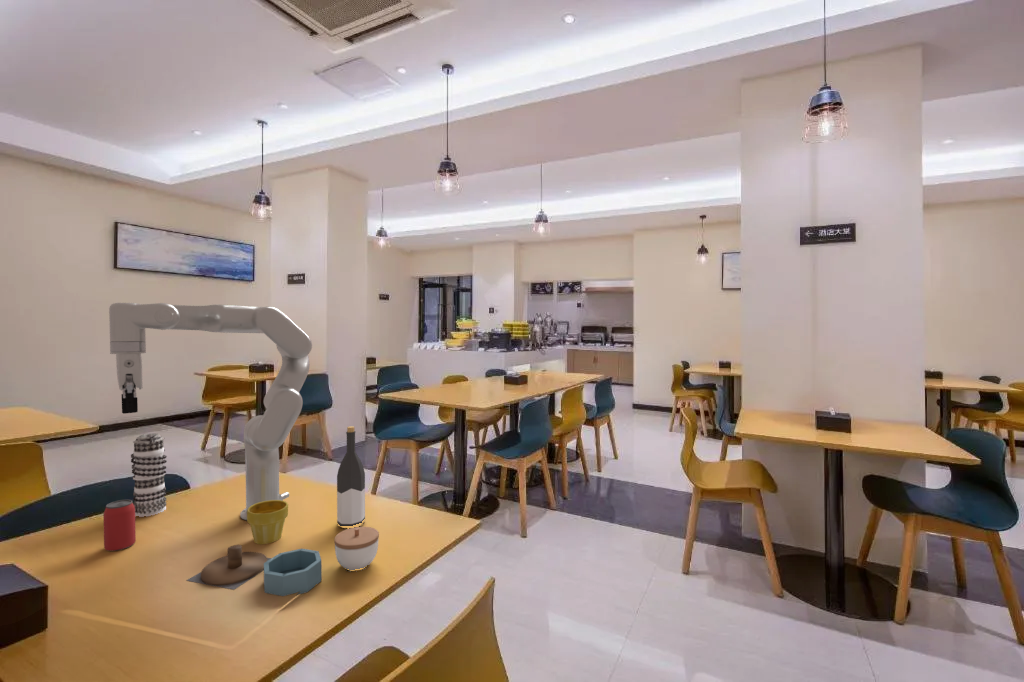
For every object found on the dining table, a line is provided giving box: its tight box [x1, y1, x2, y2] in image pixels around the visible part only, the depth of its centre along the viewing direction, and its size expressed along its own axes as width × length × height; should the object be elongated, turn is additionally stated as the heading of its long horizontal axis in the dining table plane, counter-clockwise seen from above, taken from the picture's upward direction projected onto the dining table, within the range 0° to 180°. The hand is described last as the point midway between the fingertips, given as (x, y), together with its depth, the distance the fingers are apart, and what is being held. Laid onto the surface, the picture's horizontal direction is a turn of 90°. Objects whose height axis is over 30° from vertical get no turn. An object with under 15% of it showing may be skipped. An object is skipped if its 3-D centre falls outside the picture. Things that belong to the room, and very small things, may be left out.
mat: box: [186, 557, 272, 591], centre depth 114 cm, size 14×14×1 cm
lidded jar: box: [333, 526, 380, 570], centre depth 117 cm, size 11×11×9 cm
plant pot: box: [246, 500, 289, 545], centre depth 130 cm, size 10×10×10 cm
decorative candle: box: [130, 433, 168, 518], centre depth 150 cm, size 9×9×25 cm
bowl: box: [263, 548, 323, 597], centre depth 109 cm, size 12×12×5 cm
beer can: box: [102, 499, 137, 552], centre depth 126 cm, size 7×7×12 cm
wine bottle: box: [336, 425, 366, 526], centre depth 141 cm, size 8×8×30 cm
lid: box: [200, 544, 268, 586], centre depth 114 cm, size 14×14×6 cm
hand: (129, 410), depth 127 cm, fingers open, 9 cm apart
